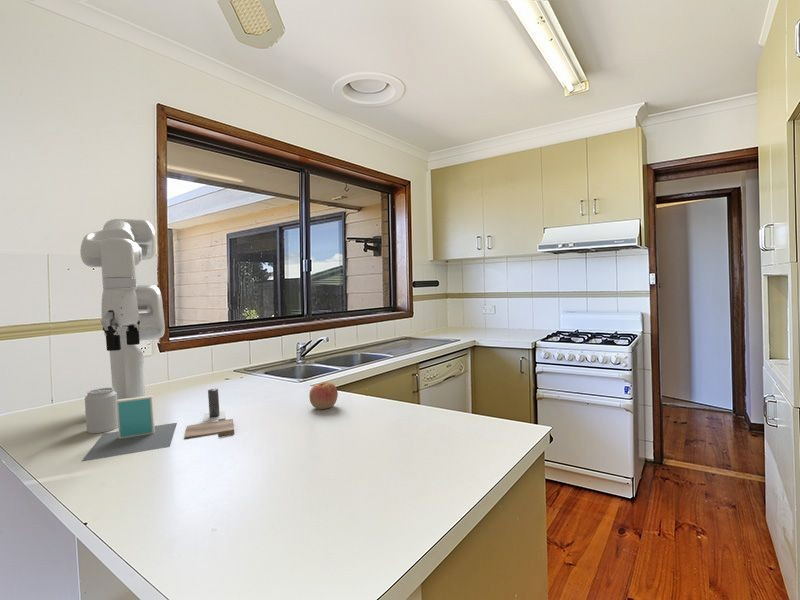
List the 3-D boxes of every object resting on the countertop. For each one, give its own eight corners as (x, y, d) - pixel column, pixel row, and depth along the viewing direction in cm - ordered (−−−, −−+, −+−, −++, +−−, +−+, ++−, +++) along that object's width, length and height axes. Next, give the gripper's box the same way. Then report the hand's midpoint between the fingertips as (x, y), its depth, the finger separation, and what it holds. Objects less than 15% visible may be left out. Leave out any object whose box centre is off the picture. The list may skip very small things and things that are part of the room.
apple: (342, 408, 133) (341, 383, 133) (316, 414, 128) (315, 388, 128) (330, 402, 140) (329, 378, 140) (305, 407, 135) (304, 383, 135)
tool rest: (187, 429, 118) (187, 425, 118) (233, 422, 123) (232, 418, 123) (184, 442, 109) (184, 437, 109) (234, 433, 114) (234, 429, 113)
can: (102, 436, 115) (99, 393, 114) (80, 435, 116) (77, 393, 116) (125, 427, 122) (123, 386, 122) (104, 426, 124) (101, 386, 123)
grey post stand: (204, 417, 130) (202, 388, 129) (225, 413, 132) (223, 385, 132) (203, 424, 122) (201, 394, 122) (225, 421, 125) (223, 391, 124)
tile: (120, 436, 113) (118, 399, 112) (155, 431, 116) (152, 395, 115) (118, 438, 111) (116, 401, 110) (153, 433, 114) (151, 397, 113)
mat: (103, 436, 115) (103, 433, 115) (177, 425, 122) (177, 422, 122) (81, 464, 97) (81, 461, 97) (169, 449, 104) (169, 446, 104)
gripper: (122, 284, 122) (126, 343, 123) (84, 285, 105) (89, 353, 105) (149, 283, 123) (153, 342, 123) (116, 284, 105) (121, 352, 106)
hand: (124, 347), depth 114 cm, fingers open, 9 cm apart
